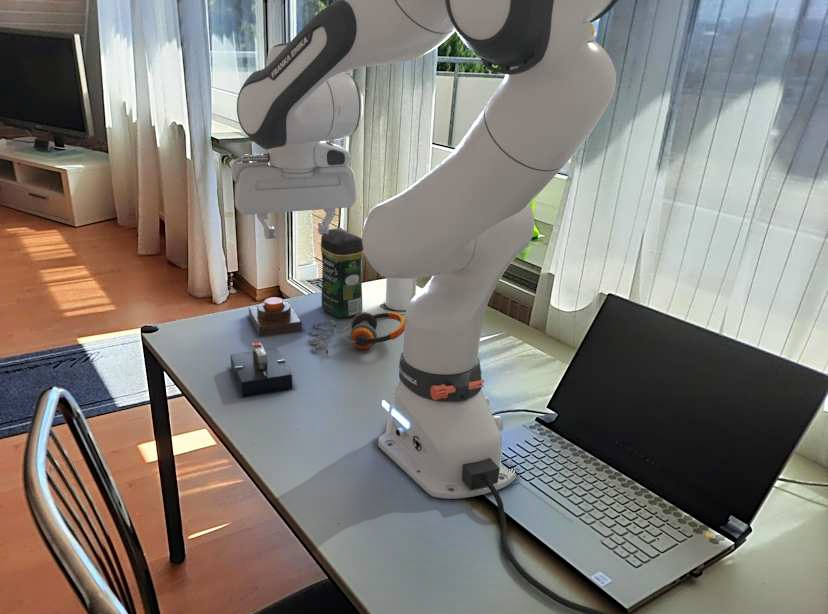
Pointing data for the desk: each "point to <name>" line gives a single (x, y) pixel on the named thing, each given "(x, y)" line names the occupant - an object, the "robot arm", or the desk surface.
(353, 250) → the coffee jar
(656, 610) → the desk surface
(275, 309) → the button
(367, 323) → the headphones
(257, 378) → the dial panel
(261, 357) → the dial
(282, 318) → the button block
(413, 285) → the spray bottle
